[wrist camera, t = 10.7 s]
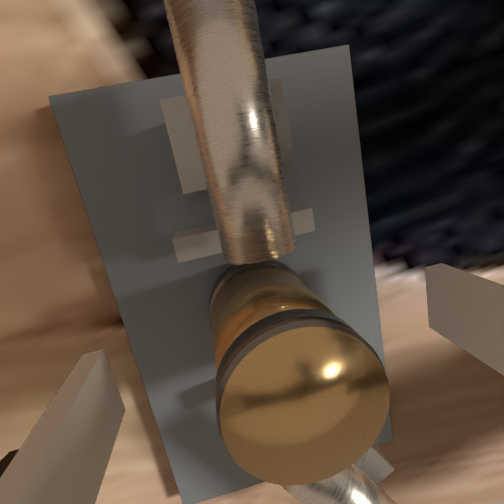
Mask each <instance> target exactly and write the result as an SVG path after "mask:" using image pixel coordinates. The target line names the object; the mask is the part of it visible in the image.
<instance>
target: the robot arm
mask: <svg viewBox="0 0 504 504" xmlns="http://www.w3.org/2000/svg"><path fill="white" fill-rule="evenodd" d="M425 275H426V289H427V304H428V318H429V327H430V328H432V329H433V330H435V331H436V332H438V333H439V334H441V335H442V336H444V337H445V338H447V339H448V340H450V341H451V342H453V343H455V344H456V345H458V346H459V347H461V348H462V349H464V350H465V351H467V352H468V353H470V354H471V355H473V356H474V357H476V358H477V359H479V360H480V361H482V362H483V363H485V364H486V365H488V366H489V367H491V368H492V369H494V370H495V371H497V372H499V373H500V374H502V375H503V376H504V285H501V284H498V283H496V282H493V281H490V280H487V279H485V278H482V277H479V276H476V275H473V274H471V273H468V272H465V271H462V270H460V269H457V268H454V267H451V266H448V265H446V264H443V263H440V264H437V265H433V266H429V267H425ZM124 412H125V407H124V404H123V402H122V399H121V396H120V393H119V390H118V388H117V385H116V382H115V379H114V376H113V374H112V371H111V368H110V365H109V362H108V360H107V357H106V354H105V351H104V349H101V350H97V351H93V352H89V353H85V354H83V355H82V356H81V358H80V359H79V361H78V362H77V364H76V365H75V367H74V368H73V370H72V371H71V373H70V374H69V376H68V377H67V379H66V380H65V382H64V383H63V385H62V386H61V388H60V389H59V391H58V392H57V394H56V395H55V397H54V398H53V400H52V401H51V403H50V404H49V406H48V407H47V409H46V410H45V412H44V413H43V415H42V416H41V418H40V419H39V421H38V422H37V424H36V425H35V427H34V428H33V430H32V431H31V433H30V434H29V436H28V437H27V439H26V440H25V442H24V443H23V445H22V446H21V448H20V449H18V450H14V451H10V452H9V453H8V454H7V455H6V456H5V457H4V458H3V459H2V460H1V461H0V504H95V501H96V498H97V495H98V492H99V489H100V486H101V483H102V480H103V477H104V474H105V471H106V468H107V465H108V462H109V459H110V455H111V452H112V449H113V446H114V443H115V440H116V437H117V434H118V431H119V428H120V425H121V422H122V419H123V416H124Z"/></svg>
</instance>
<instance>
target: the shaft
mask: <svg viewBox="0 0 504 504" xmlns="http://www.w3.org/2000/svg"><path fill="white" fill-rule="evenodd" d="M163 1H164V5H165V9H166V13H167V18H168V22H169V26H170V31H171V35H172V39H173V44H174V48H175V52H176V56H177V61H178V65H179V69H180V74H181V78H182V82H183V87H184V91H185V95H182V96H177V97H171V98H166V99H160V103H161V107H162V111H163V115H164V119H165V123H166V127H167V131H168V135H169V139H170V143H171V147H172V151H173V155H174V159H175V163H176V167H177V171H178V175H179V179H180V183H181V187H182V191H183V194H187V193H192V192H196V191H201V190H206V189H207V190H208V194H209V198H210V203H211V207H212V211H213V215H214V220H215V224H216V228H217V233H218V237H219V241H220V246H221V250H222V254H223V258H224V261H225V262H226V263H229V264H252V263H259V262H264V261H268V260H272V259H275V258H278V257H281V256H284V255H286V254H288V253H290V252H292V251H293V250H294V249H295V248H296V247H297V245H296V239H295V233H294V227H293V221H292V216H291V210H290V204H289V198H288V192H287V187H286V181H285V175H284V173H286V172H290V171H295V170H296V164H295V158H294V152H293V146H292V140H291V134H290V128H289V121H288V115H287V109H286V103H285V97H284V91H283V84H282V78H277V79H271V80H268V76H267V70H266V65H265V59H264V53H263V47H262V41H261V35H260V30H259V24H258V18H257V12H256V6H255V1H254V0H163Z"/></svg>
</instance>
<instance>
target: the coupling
mask: <svg viewBox="0 0 504 504" xmlns="http://www.w3.org/2000/svg"><path fill="white" fill-rule="evenodd" d="M208 311H209V323H210V328H211V331H212V334H213V344H214V356H215V367H216V379H215V405H216V419H217V425H218V431H219V433H220V436H221V439H222V441H223V443H224V445H225V447H226V448H227V450H228V452H229V453H230V455H231V457H232V458H233V459H234V460H235V462H236V463H237V464H238V465H239V466H240V467H241V468H242V469H243V470H245V471H246V472H248V473H249V474H251V475H252V476H254V477H256V478H258V479H260V480H263V481H266V482H269V483H273V484H279V485H290V486H291V485H304V484H311V483H315V482H318V481H322V480H325V479H327V478H330V477H332V476H334V475H336V474H338V473H340V472H342V471H344V470H345V469H347V468H348V467H350V466H351V465H352V464H354V463H355V462H356V461H358V460H359V459H360V458H361V457H362V456H363V455H364V454H365V453H366V452H367V451H368V450H369V448H370V447H371V446H372V445H373V443H374V442H375V440H376V439H377V437H378V436H379V434H380V432H381V430H382V428H383V426H384V424H385V421H386V418H387V414H388V410H389V404H390V388H389V382H388V378H387V375H386V372H385V370H384V367H383V364H382V362H381V360H380V358H379V356H378V354H377V353H376V352H375V350H374V349H373V348H372V346H371V345H370V344H369V343H368V342H367V341H365V340H364V339H363V338H362V337H361V336H360V335H359V334H358V333H357V332H356V331H355V330H354V329H353V328H352V327H351V326H350V325H349V324H348V323H346V322H345V321H344V320H342V319H341V318H339V317H337V316H336V315H335V314H334V313H333V312H332V311H331V310H330V309H329V308H328V307H327V306H326V305H325V304H324V303H323V302H322V301H321V300H320V299H319V298H318V297H317V296H316V295H315V294H314V293H313V292H312V291H311V290H310V289H309V288H308V286H307V285H306V283H305V282H304V281H303V279H302V278H301V277H300V276H299V275H298V274H297V273H296V272H295V271H294V270H293V269H292V268H290V267H289V266H288V265H286V264H284V263H282V262H281V261H278V260H275V259H272V260H268V261H264V262H259V263H252V264H235V265H233V266H231V267H230V268H229V269H227V270H226V271H225V272H224V273H223V274H222V275H221V276H220V277H219V279H218V280H217V281H216V283H215V285H214V286H213V289H212V291H211V294H210V298H209V304H208Z"/></svg>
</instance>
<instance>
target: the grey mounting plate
mask: <svg viewBox="0 0 504 504" xmlns="http://www.w3.org/2000/svg"><path fill="white" fill-rule="evenodd" d="M265 65H266V70H267V76H268V80H271V79H277V78H282V84H283V91H284V97H285V103H286V109H287V115H288V121H289V128H290V134H291V140H292V146H293V152H294V158H295V164H296V170H295V171H290V172H286V173H284V175H285V181H286V187H287V192H288V198H289V204H290V210H291V216H292V221H293V227H294V233H295V239H296V245H297V247H296V248H295V249H294V250H293V251H292V252H290V253H288V254H286V255H284V256H281V257H278V258H275V260H278V261H281V262H282V263H284V264H286V265H288V266H289V267H290V268H292V269H293V270H294V271H295V272H296V273H297V274H298V275H299V276H300V277H301V278H302V279H303V281H304V282H305V283H306V285H307V286H308V288H309V289H310V290H311V291H312V292H313V293H314V294H315V295H316V296H317V297H318V298H319V299H320V300H321V301H322V302H323V303H324V304H325V305H326V306H327V307H328V308H329V309H330V310H331V311H332V312H333V313H334V314H335V315H336V316H337V317H339V318H341V319H342V320H344V321H345V322H346V323H348V324H349V325H350V326H351V327H352V328H353V329H354V330H355V331H356V332H357V333H358V334H359V335H360V336H361V337H362V338H363V339H364V340H365V341H367V342H368V343H369V344H370V345H371V346H372V348H373V349H374V350H375V352H376V353H377V354H378V356H379V358H380V360H381V362H382V364H383V367H384V370H385V361H384V352H383V343H382V335H381V326H380V317H379V308H378V299H377V290H376V281H375V272H374V263H373V254H372V246H371V237H370V228H369V219H368V210H367V201H366V192H365V183H364V174H363V166H362V157H361V148H360V139H359V130H358V121H357V112H356V103H355V94H354V86H353V77H352V68H351V59H350V50H349V45H344V46H338V47H332V48H326V49H320V50H315V51H309V52H303V53H297V54H291V55H286V56H280V57H274V58H268V59H265ZM182 95H185V91H184V87H183V82H182V78H181V74H176V75H170V76H164V77H158V78H153V79H147V80H141V81H135V82H129V83H124V84H118V85H112V86H106V87H100V88H95V89H89V90H83V91H77V92H71V93H66V94H60V95H54V96H48V97H49V100H50V103H51V106H52V109H53V112H54V115H55V118H56V121H57V124H58V127H59V130H60V133H61V136H62V139H63V142H64V146H65V149H66V152H67V155H68V158H69V161H70V164H71V167H72V170H73V173H74V176H75V179H76V182H77V185H78V188H79V191H80V194H81V197H82V200H83V203H84V206H85V209H86V212H87V215H88V218H89V221H90V224H91V227H92V230H93V233H94V236H95V239H96V242H97V245H98V248H99V251H100V254H101V257H102V260H103V263H104V266H105V270H106V273H107V276H108V279H109V282H110V285H111V288H112V291H113V294H114V297H115V300H116V303H117V306H118V309H119V312H120V315H121V318H122V321H123V324H124V327H125V330H126V333H127V336H128V339H129V342H130V345H131V348H132V351H133V354H134V357H135V360H136V363H137V366H138V369H139V372H140V375H141V378H142V381H143V384H144V387H145V390H146V394H147V397H148V400H149V403H150V406H151V409H152V412H153V415H154V418H155V421H156V424H157V427H158V430H159V433H160V436H161V439H162V442H163V445H164V448H165V451H166V454H167V457H168V460H169V463H170V466H171V469H172V472H173V475H174V478H175V481H176V484H177V487H178V490H179V493H180V496H181V499H182V502H183V504H195V503H198V502H201V501H205V500H208V499H211V498H214V497H217V496H220V495H223V494H227V493H230V492H233V491H236V490H239V489H242V488H246V487H249V486H252V485H255V484H258V483H261V482H264V481H263V480H260V479H258V478H256V477H254V476H252V475H251V474H249V473H248V472H246V471H245V470H243V469H242V468H241V467H240V466H239V465H238V464H237V463H236V462H235V460H234V459H233V458H232V457H231V455H230V453H229V452H228V450H227V448H226V447H225V445H224V443H223V441H222V439H221V436H220V433H219V431H218V425H217V419H216V405H215V379H216V367H215V356H214V344H213V334H212V331H211V328H210V323H209V311H208V304H209V298H210V294H211V291H212V289H213V286H214V285H215V283H216V281H217V280H218V279H219V277H220V276H221V275H222V274H223V273H224V272H225V271H226V270H227V269H229V268H230V267H231V266H233V265H235V264H229V263H226V262H225V261H224V258H223V254H222V250H221V246H220V241H219V237H218V233H217V228H216V224H215V220H214V215H213V211H212V207H211V203H210V198H209V194H208V190H207V189H206V190H201V191H196V192H192V193H187V194H183V191H182V187H181V183H180V179H179V175H178V171H177V167H176V163H175V159H174V155H173V151H172V147H171V143H170V139H169V135H168V131H167V127H166V123H165V119H164V115H163V111H162V107H161V103H160V99H166V98H171V97H177V96H182ZM385 372H386V370H385ZM375 441H376V443H377V444H378V445H381V444H384V443H387V442H391V441H393V432H392V423H391V415H390V406H389V410H388V414H387V418H386V421H385V424H384V426H383V428H382V430H381V432H380V434H379V436H378V437H377V439H376V440H375Z"/></svg>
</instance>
